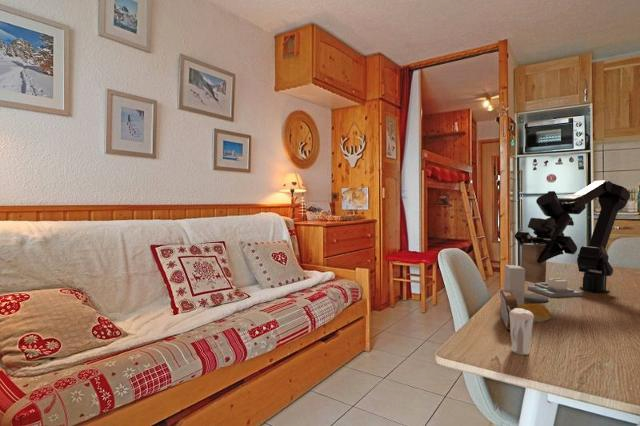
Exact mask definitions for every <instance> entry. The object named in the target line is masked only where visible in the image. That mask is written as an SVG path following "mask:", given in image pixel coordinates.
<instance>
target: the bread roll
mask: <svg viewBox="0 0 640 426" xmlns="http://www.w3.org/2000/svg"><path fill="white" fill-rule="evenodd" d="M518 308H522V309H524V310H528V311H530V312H532V314H533V315H534V319H533V323H542V322H545V321H549V320H550V319H551V312H550V311H549V309H548V308H546V307H545V306H543V305H541V304H540V303H534V302H532V303H524V305H519V306H518Z"/></svg>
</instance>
